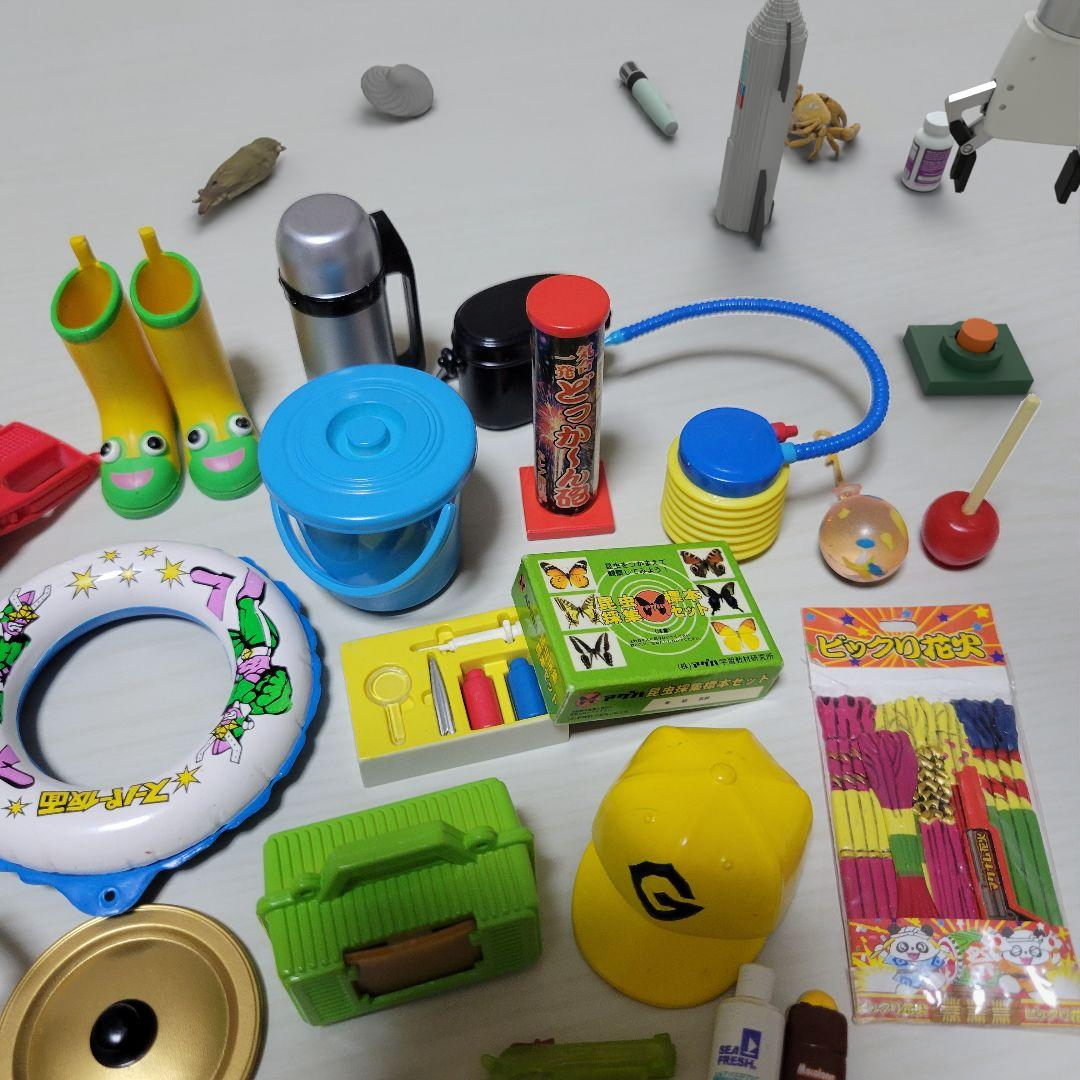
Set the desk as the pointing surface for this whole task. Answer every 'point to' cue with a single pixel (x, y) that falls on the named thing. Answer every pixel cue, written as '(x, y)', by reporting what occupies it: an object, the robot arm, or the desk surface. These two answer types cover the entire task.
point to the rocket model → (761, 117)
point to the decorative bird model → (239, 172)
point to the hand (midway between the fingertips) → (1008, 190)
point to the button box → (965, 363)
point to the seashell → (397, 90)
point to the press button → (977, 335)
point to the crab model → (818, 121)
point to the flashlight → (648, 97)
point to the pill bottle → (928, 153)
